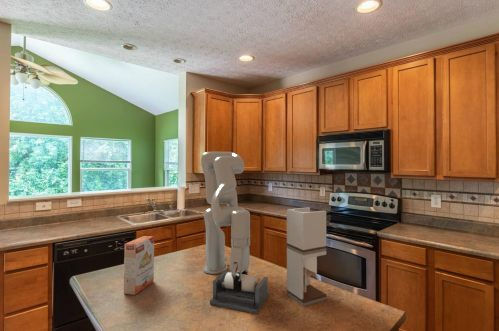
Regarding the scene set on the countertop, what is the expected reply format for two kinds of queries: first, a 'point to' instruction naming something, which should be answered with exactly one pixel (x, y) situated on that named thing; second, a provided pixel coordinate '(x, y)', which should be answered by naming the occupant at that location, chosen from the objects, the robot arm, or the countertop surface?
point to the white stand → (304, 253)
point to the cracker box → (138, 264)
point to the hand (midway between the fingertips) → (240, 286)
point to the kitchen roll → (247, 282)
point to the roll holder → (239, 296)
